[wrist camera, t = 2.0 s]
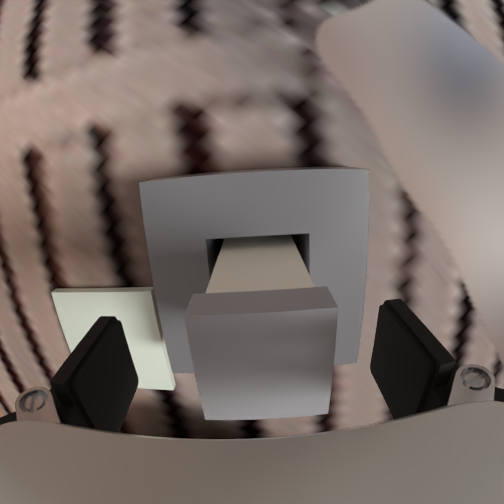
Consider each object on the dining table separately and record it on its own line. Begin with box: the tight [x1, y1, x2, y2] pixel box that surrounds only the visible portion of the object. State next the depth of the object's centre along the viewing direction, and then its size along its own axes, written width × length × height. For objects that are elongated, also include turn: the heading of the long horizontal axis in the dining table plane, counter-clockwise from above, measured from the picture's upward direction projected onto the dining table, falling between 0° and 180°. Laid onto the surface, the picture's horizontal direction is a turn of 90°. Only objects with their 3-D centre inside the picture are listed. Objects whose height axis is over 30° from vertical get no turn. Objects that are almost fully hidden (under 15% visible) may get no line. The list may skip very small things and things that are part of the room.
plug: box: [184, 234, 338, 420], centre depth 15 cm, size 5×5×12 cm
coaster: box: [51, 287, 176, 390], centre depth 22 cm, size 9×9×1 cm
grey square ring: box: [139, 167, 369, 373], centre depth 19 cm, size 12×12×4 cm
